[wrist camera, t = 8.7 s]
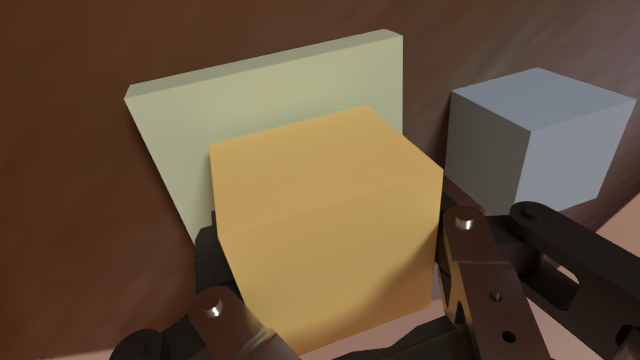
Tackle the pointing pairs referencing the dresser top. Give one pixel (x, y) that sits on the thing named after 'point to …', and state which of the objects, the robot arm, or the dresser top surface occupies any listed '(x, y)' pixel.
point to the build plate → (258, 106)
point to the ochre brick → (328, 224)
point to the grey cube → (533, 139)
